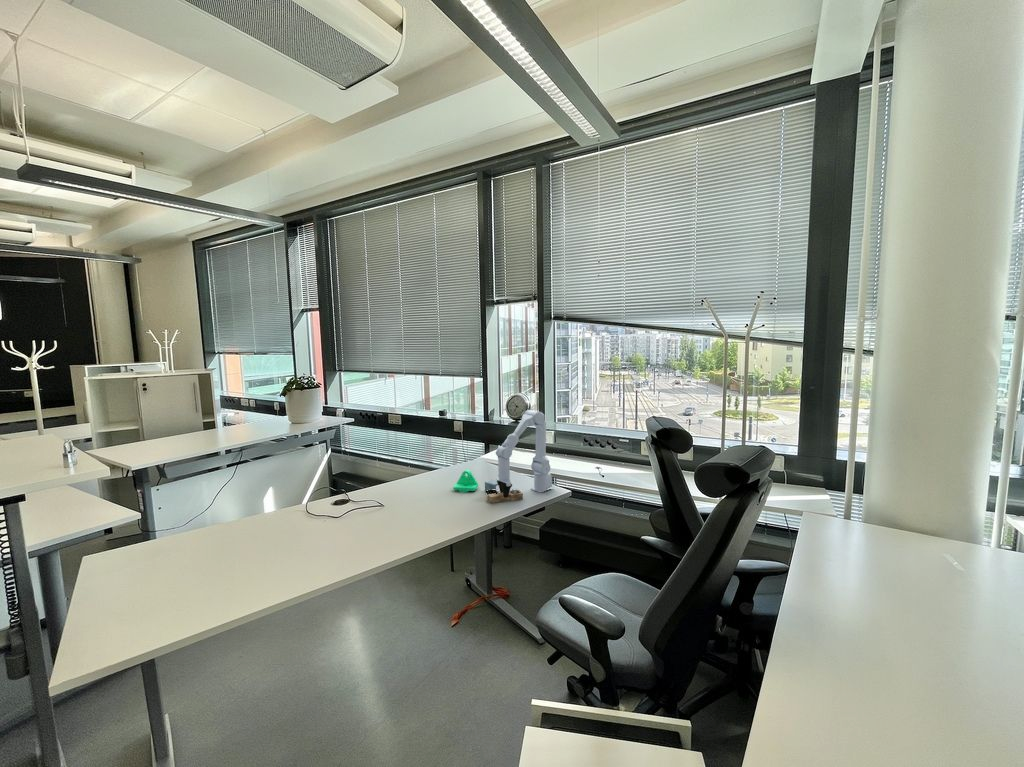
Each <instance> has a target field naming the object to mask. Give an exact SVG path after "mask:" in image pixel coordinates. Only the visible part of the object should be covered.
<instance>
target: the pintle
mask: <svg viewBox="0 0 1024 767" xmlns="http://www.w3.org/2000/svg"><path fill="white" fill-rule="evenodd" d="M511 490H512V494H517V490H518V489H516V488H511Z"/></svg>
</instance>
